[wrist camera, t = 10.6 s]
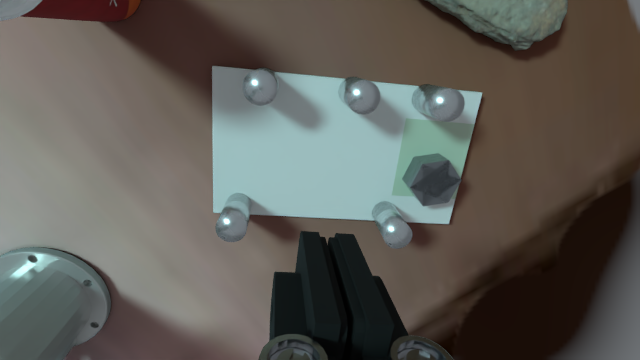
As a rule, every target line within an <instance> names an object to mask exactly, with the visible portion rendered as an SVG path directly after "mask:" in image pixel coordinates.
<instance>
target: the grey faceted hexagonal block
mask: <svg viewBox="0 0 640 360" xmlns="http://www.w3.org/2000/svg"><path fill="white" fill-rule="evenodd" d="M402 180H403V181H404V183H405V184H406V186H407V187H408V188H409V190H410V191H411V193H412V194H413V195H414V197H415V198H416V199H417V200H418V201H419V202H420V204H421V205H422V206H429V205H436V204H442V203H448V202H449V201H450V199H451V197H452V196H453V194H454V192H455V190H456V189H457V187H458V185H459V184H460V182H461V178H460V177H459V175H458V173H457V172H456V170H455V169H454V167H453V166H452V164H451V162H450V161H449V160H448V159H447V158H445V157H443V156H442V155H440V154H439V153H436V154H429V155H422V156H415V157H413V159H412V161H411V163H410V165H409V166H408V168H407V170H406V172H405V174H404V176H403V178H402Z"/></svg>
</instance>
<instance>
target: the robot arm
mask: <svg viewBox="0 0 640 360" xmlns="http://www.w3.org/2000/svg"><path fill="white" fill-rule="evenodd" d="M110 308H111V300H110V294H109V291H108V289H107V286H106V284H105V283H104V281H103V280H102V278H101V277H100V276H99V275H98V274H97V273H96V272H95V270H94V269H93V268H91V267H90V266H89V265H87V264H86V263H85V262H83V261H81V260H80V259H78V258H76V257H74V256H72V255H70V254H67V253H64V252H62V251H58V250H54V249H49V248H39V247H30V248H21V249H17V250H13V251H10V252H7V253H5V254H3V255H1V256H0V360H63V359H64V358H65V357H66V355H67V354H68V353H69V351H70V350H71V349H72V347H73V346H76V345H79V344H82V343H84V342H86V341H88V340H89V339H91V338H92V337H94V336H95V335H96V334H97V333H98V332H99V331H100V330H101V328H102V327H103V325H104V324H105V322H106V321H107V319H108V316H109V314H110ZM259 360H453V358H452V357H451V356H450V355H449V354H448V353H447V352H446V351H445V350H444V349H443V348H442V347H441V346H439V345H438V344H436V343H435V342H433V341H431V340H429V339H426V338H423V337H419V336H409V335H408V333H407V331H406V329H405V327H404V325H403V323H402V321H401V319H400V316H399V314H398V312H397V310H396V308H395V306H394V304H393V302H392V300H391V298H390V296H389V294H388V292H387V290H386V288H385V285H384V283H383V281H382V280H381V278H380V277H379V276H372V274H371V272H370V269H369V267H368V265H367V263H366V260H365V258H364V256H363V254H362V251H361V249H360V247H359V245H358V243H357V240H356V238H355V236H354V234H339V233H336V234H335V237H334V238H331V237H330V238H329V240H328V246H327V243H326V239H325V237H320V235H319V232H307V231H301V233H300V239H299V247H298V255H297V263H296V271H295V273H291V272H274V279H273V289H272V299H271V313H270V340H269V342H268V343H267V344H266V345H265V346H264V347H263V349H262V351H261V354H260V356H259Z"/></svg>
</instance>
